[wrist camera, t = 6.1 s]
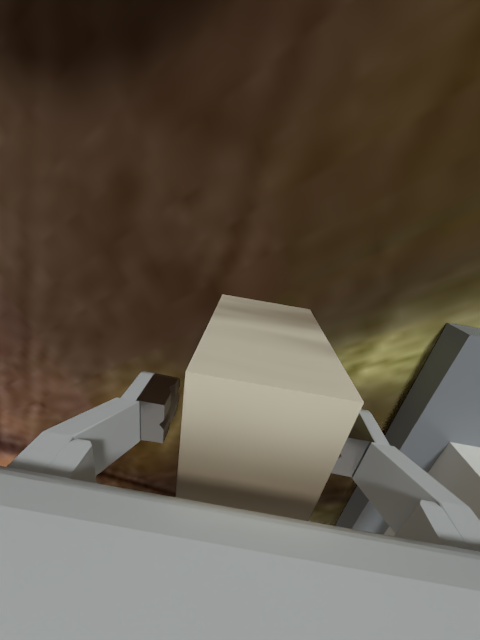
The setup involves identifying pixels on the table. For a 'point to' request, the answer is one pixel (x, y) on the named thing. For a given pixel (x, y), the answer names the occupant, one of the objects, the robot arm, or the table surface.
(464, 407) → the cradle
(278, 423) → the key block
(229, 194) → the table surface
